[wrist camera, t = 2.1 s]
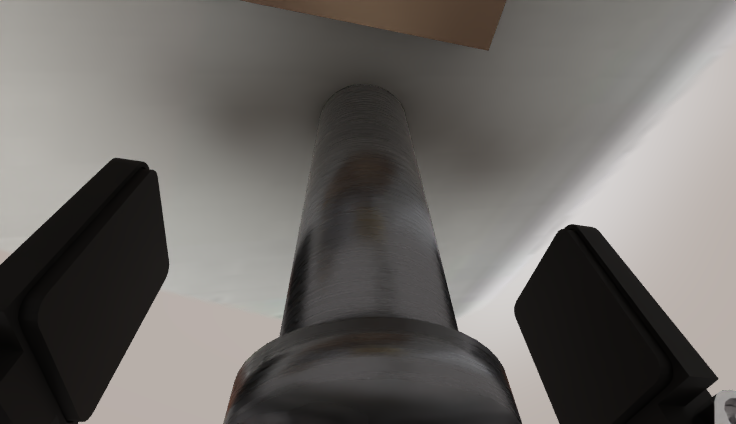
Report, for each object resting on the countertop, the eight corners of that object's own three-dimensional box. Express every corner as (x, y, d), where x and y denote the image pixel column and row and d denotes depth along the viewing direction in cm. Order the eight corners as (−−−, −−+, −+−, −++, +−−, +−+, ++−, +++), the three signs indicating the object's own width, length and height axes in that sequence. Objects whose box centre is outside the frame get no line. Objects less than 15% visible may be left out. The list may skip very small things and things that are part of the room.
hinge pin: (392, 45, 12) (473, 337, 4) (438, 150, 14) (553, 484, 6) (281, 102, 13) (145, 435, 5) (339, 192, 15) (318, 529, 7)
